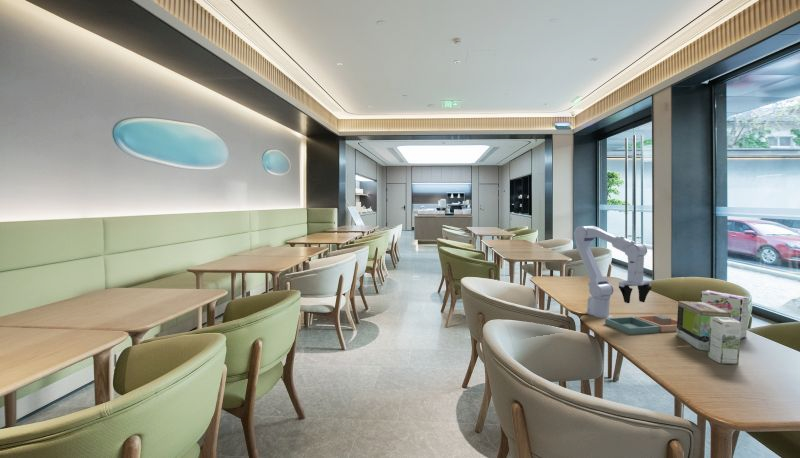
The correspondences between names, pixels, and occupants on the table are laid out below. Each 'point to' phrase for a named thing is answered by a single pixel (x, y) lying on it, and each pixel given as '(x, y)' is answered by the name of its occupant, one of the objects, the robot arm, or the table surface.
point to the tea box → (697, 322)
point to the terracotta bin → (661, 328)
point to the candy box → (729, 306)
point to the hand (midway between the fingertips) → (634, 302)
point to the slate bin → (631, 325)
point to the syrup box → (724, 340)
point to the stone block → (661, 320)
